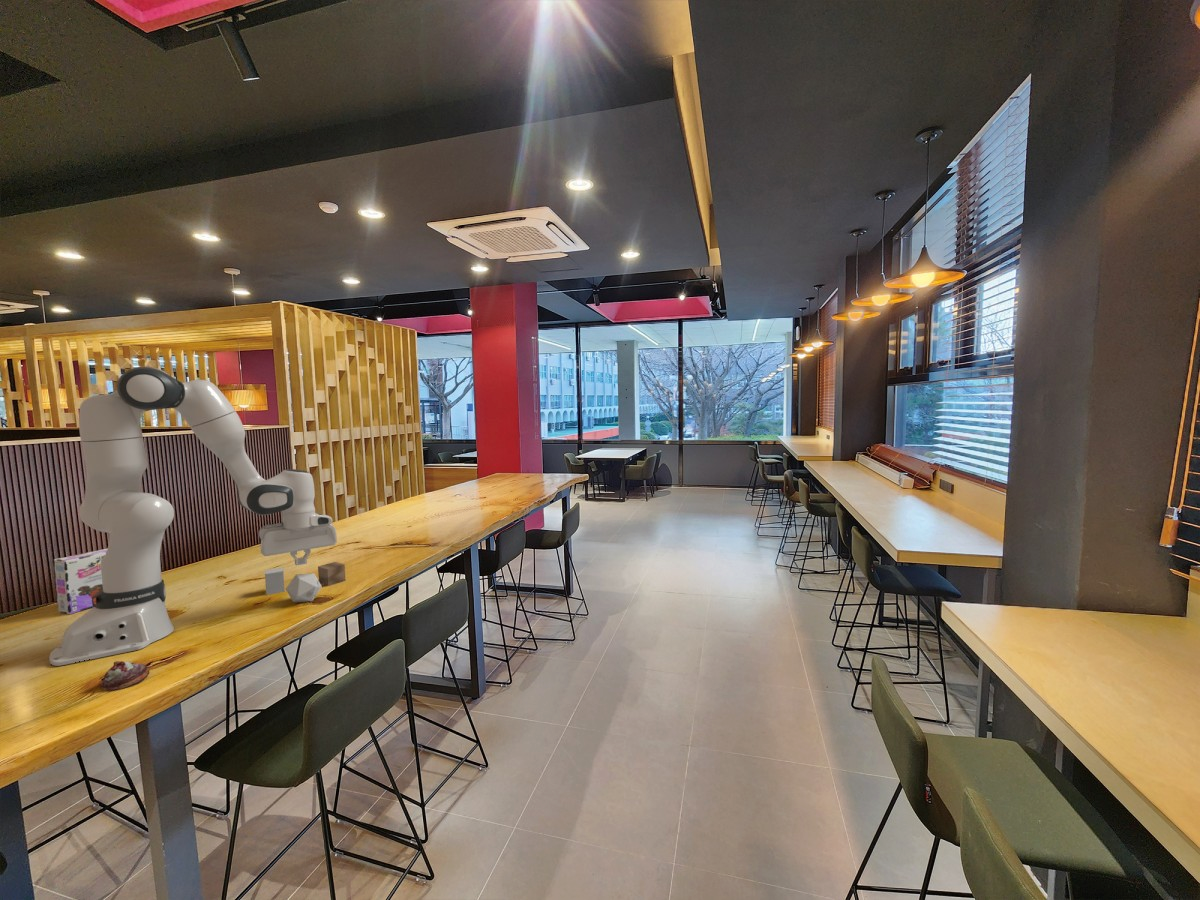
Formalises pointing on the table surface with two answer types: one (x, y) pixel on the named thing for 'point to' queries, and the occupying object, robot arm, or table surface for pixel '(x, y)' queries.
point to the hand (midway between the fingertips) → (300, 564)
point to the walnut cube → (331, 573)
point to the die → (303, 587)
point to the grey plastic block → (274, 581)
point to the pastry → (124, 676)
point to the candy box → (78, 580)
